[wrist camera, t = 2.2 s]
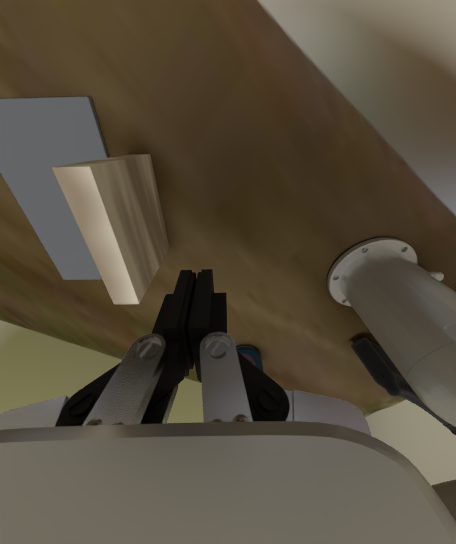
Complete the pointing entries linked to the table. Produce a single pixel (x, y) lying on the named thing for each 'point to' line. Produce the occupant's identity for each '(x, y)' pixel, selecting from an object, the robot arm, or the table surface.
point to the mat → (50, 170)
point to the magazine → (389, 375)
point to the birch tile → (118, 220)
